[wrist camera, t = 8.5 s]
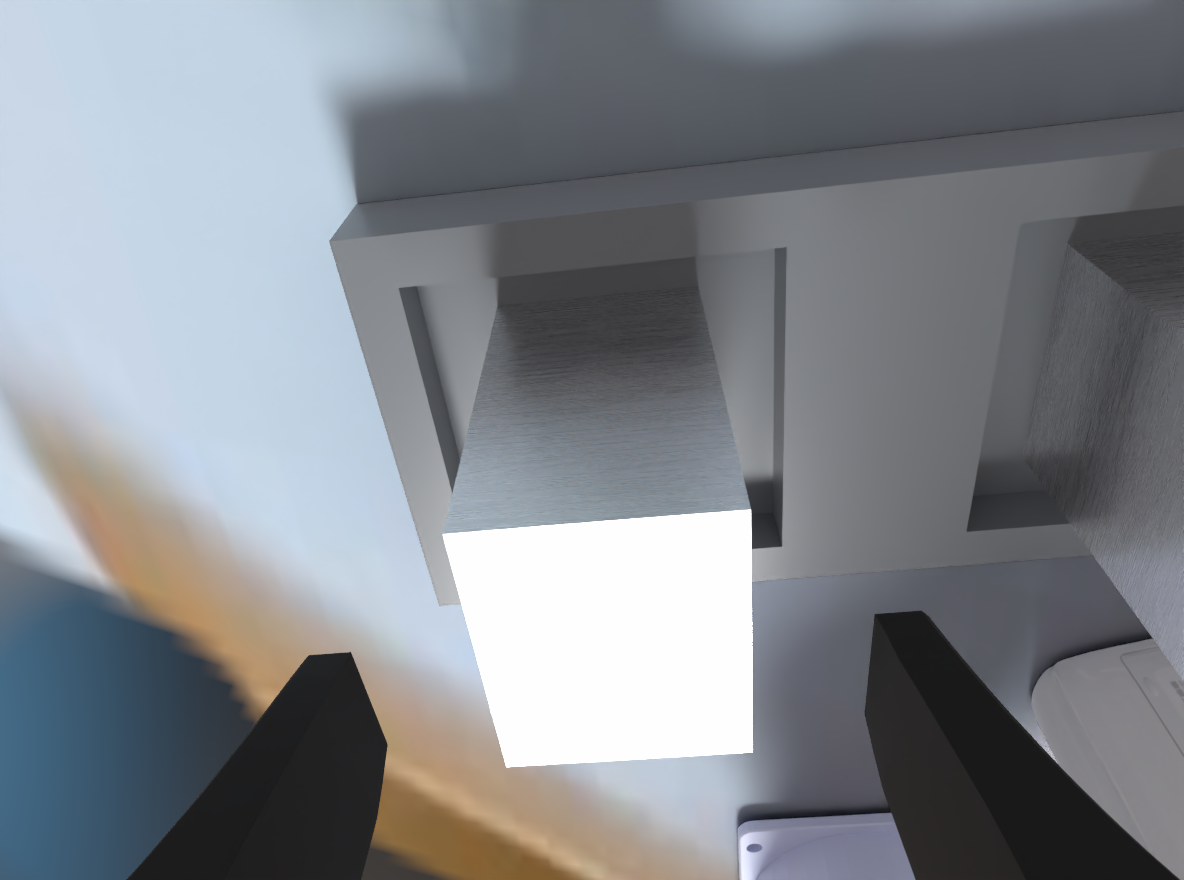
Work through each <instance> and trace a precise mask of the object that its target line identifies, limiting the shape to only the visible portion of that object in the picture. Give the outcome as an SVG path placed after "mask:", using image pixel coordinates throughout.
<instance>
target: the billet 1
mask: <svg viewBox="0 0 1184 880" xmlns="http://www.w3.org/2000/svg"><path fill="white" fill-rule="evenodd" d="M443 538H444V541H445V545H446V549H447V552H448V556H449V560H450V563H451V567H452V571H453V574H454V578H455V581H456V585H457V589H458V592H459V596H460V600H461V603H462V607H463V611H464V614H465V618H466V621H467V625H468V629H469V632H470V636H471V640H472V643H473V647H474V650H475V654H476V658H477V661H478V665H479V669H480V672H481V676H482V680H483V683H484V687H485V690H486V694H487V698H488V701H489V705H490V709H491V712H492V716H493V720H494V723H495V727H496V730H497V734H498V738H499V741H500V745H501V749H502V752H503V756H504V760H505V763H506V767H515V766H532V765H548V764H565V763H582V762H598V761H615V760H631V759H648V758H665V757H681V756H698V755H715V754H731V753H748V752H753V728H752V579H751V507H750V503H749V499H748V495H747V490H746V486H745V482H744V478H743V473H742V469H741V465H740V461H739V456H738V452H737V448H736V444H735V439H734V435H733V431H732V427H731V422H730V418H729V414H728V410H727V405H726V401H725V397H724V393H723V389H722V384H721V380H720V376H719V372H718V367H717V363H716V359H715V355H714V350H713V346H712V342H711V338H710V333H709V329H708V325H707V321H706V316H705V312H704V308H703V304H702V299H701V295H700V291H699V287H698V286H691V287H681V288H671V289H661V290H651V291H641V292H630V293H620V294H610V295H600V296H590V297H580V298H570V299H560V300H550V301H540V302H530V303H519V304H509V305H499V306H497V310H496V314H495V318H494V323H493V327H492V331H491V335H490V339H489V343H488V348H487V352H486V356H485V360H484V364H483V368H482V372H481V377H480V381H479V385H478V389H477V393H476V397H475V402H474V406H473V410H472V414H471V418H470V422H469V426H468V431H467V435H466V439H465V443H464V447H463V451H462V456H461V460H460V464H459V468H458V472H457V476H456V480H455V485H454V489H453V493H452V497H451V501H450V505H449V510H448V514H447V518H446V522H445V526H444V530H443Z"/></svg>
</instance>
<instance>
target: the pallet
mask: <svg viewBox="0 0 1184 880" xmlns="http://www.w3.org/2000/svg"><path fill="white" fill-rule="evenodd" d="M1181 231H1184V111H1180V112H1171V113H1162V114H1153V115H1144V116H1136V117H1127V118H1118V119H1109V120H1100V121H1091V122H1082V123H1074V124H1065V125H1056V126H1047V127H1038V128H1029V129H1020V130H1011V131H1003V132H994V133H985V134H976V135H967V136H958V137H949V138H941V139H932V140H923V141H914V142H905V143H896V144H887V145H878V146H870V147H861V148H852V149H843V150H834V151H825V152H816V153H808V154H799V155H790V156H781V157H772V158H763V159H754V160H745V161H737V162H728V163H719V164H710V165H701V166H692V167H683V168H675V169H666V170H657V171H648V172H639V173H630V174H621V175H612V176H604V177H595V178H586V179H577V180H568V181H559V182H550V183H542V184H533V185H524V186H515V187H506V188H497V189H488V190H479V191H471V192H462V193H453V194H444V195H435V196H426V197H417V198H409V199H400V200H391V201H382V202H373V203H364V204H357V205H356V206H355V207H354V209H353V210H352V211H351V213H350V214H349V215H348V217H347V218H346V219H345V221H344V222H343V223H342V225H341V226H340V228H339V229H338V230H337V232H336V233H335V234H334V236H333V237H332V238H331V240H330V241H329V242H330V246H331V249H332V252H333V256H334V259H335V262H336V265H337V269H338V272H339V275H340V279H341V282H342V285H343V289H344V292H345V295H346V299H347V302H348V305H349V309H350V312H351V315H352V318H353V322H354V325H355V328H356V332H357V335H358V338H359V342H360V345H361V348H362V352H363V355H364V358H365V362H366V365H367V368H368V372H369V375H370V378H371V381H372V385H373V388H374V391H375V395H376V398H377V401H378V405H379V408H380V411H381V415H382V418H383V421H384V425H385V428H386V431H387V434H388V438H389V441H390V444H391V448H392V451H393V454H394V458H395V461H396V464H397V468H398V471H399V474H400V478H401V481H402V484H403V487H404V491H405V494H406V497H407V501H408V504H409V507H410V511H411V514H412V517H413V521H414V524H415V527H416V531H417V534H418V537H419V540H420V544H421V547H422V550H423V554H424V557H425V560H426V564H427V567H428V570H429V574H430V577H431V580H432V584H433V587H434V590H435V594H436V597H437V600H438V603H439V606H444V605H457V604H462V603H461V600H460V596H459V592H458V589H457V585H456V581H455V578H454V574H453V571H452V567H451V563H450V560H449V556H448V552H447V549H446V545H445V541H444V538H443V530H444V526H445V522H446V518H447V514H448V510H449V505H450V501H451V497H452V493H453V489H454V485H455V480H456V476H457V472H458V468H459V464H460V460H461V456H462V451H463V447H464V443H465V439H466V435H467V431H468V426H469V422H470V418H471V414H472V410H473V406H474V402H475V397H476V393H477V389H478V385H479V381H480V377H481V372H482V368H483V364H484V360H485V356H486V352H487V348H488V343H489V339H490V335H491V331H492V327H493V323H494V318H495V314H496V310H497V306H499V305H509V304H519V303H530V302H540V301H550V300H560V299H570V298H580V297H590V296H600V295H610V294H620V293H630V292H641V291H651V290H661V289H671V288H681V287H691V286H698V287H699V291H700V295H701V299H702V304H703V308H704V312H705V316H706V321H707V325H708V329H709V333H710V338H711V342H712V346H713V350H714V355H715V359H716V363H717V367H718V372H719V376H720V380H721V384H722V389H723V393H724V397H725V401H726V405H727V410H728V414H729V418H730V422H731V427H732V431H733V435H734V439H735V444H736V448H737V452H738V456H739V461H740V465H741V469H742V473H743V478H744V482H745V486H746V490H747V495H748V499H749V503H750V507H751V579H752V582H756V581H769V580H782V579H795V578H808V577H821V576H834V575H847V574H860V573H873V572H886V571H899V570H912V569H925V568H938V567H951V566H964V565H977V564H990V563H1003V562H1016V561H1029V560H1042V559H1055V558H1068V557H1081V556H1093V555H1092V554H1091V552H1090V551H1089V549H1088V548H1087V547H1086V545H1085V544H1084V542H1083V541H1082V540H1081V538H1080V537H1079V536H1078V534H1077V533H1076V531H1075V530H1074V529H1073V527H1072V526H1071V524H1070V523H1069V522H1068V520H1067V519H1066V518H1065V516H1064V515H1063V513H1062V512H1061V511H1060V509H1059V508H1058V506H1057V505H1056V504H1055V502H1054V501H1053V500H1052V498H1051V497H1050V495H1049V494H1048V493H1047V491H1046V490H1045V488H1044V487H1043V486H1042V484H1041V483H1040V481H1039V480H1038V479H1037V477H1036V476H1035V475H1034V473H1033V472H1032V470H1031V469H1030V468H1029V466H1028V465H1027V463H1026V462H1025V461H1024V459H1023V458H1022V455H1023V450H1024V445H1025V441H1026V436H1027V431H1028V426H1029V421H1030V417H1031V412H1032V407H1033V402H1034V398H1035V393H1036V388H1037V383H1038V379H1039V374H1040V369H1041V364H1042V359H1043V355H1044V350H1045V345H1046V340H1047V336H1048V331H1049V326H1050V321H1051V317H1052V312H1053V307H1054V302H1055V298H1056V293H1057V288H1058V283H1059V278H1060V274H1061V269H1062V264H1063V259H1064V255H1065V250H1066V245H1067V243H1074V242H1084V241H1094V240H1104V239H1113V238H1123V237H1133V236H1142V235H1152V234H1162V233H1172V232H1181Z"/></svg>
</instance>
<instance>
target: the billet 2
mask: <svg viewBox="0 0 1184 880" xmlns="http://www.w3.org/2000/svg"><path fill="white" fill-rule="evenodd" d="M1022 458H1023V459H1024V461H1025V462H1026V463H1027V465H1028V466H1029V468H1030V469H1031V470H1032V472H1033V473H1034V475H1035V476H1036V477H1037V479H1038V480H1039V481H1040V483H1041V484H1042V486H1043V487H1044V488H1045V490H1046V491H1047V493H1048V494H1049V495H1050V497H1051V498H1052V500H1053V501H1054V502H1055V504H1056V505H1057V506H1058V508H1059V509H1060V511H1061V512H1062V513H1063V515H1064V516H1065V518H1066V519H1067V520H1068V522H1069V523H1070V524H1071V526H1072V527H1073V529H1074V530H1075V531H1076V533H1077V534H1078V536H1079V537H1080V538H1081V540H1082V541H1083V542H1084V544H1085V545H1086V547H1087V548H1088V549H1089V551H1090V552H1091V554H1092V555H1093V556H1094V558H1095V559H1096V560H1097V562H1098V563H1099V565H1100V566H1101V567H1102V569H1103V570H1104V572H1105V573H1106V574H1107V576H1108V577H1109V578H1110V580H1111V581H1112V583H1113V584H1114V585H1115V587H1116V588H1117V590H1118V591H1119V592H1120V594H1121V595H1122V596H1123V598H1124V599H1125V601H1126V602H1127V603H1128V605H1129V606H1130V608H1131V609H1132V610H1133V612H1134V613H1135V614H1136V616H1137V617H1138V619H1139V620H1140V621H1141V623H1142V624H1143V626H1144V627H1145V628H1146V630H1147V631H1148V632H1149V634H1150V635H1151V637H1152V638H1153V639H1154V641H1155V642H1156V644H1157V645H1158V646H1159V648H1160V649H1161V651H1162V652H1163V653H1164V655H1165V656H1166V657H1167V659H1168V660H1169V662H1170V663H1171V664H1172V666H1173V667H1174V669H1175V670H1176V671H1177V673H1178V674H1179V675H1180V677H1181V678H1182V680H1183V681H1184V231H1181V232H1172V233H1162V234H1152V235H1142V236H1133V237H1123V238H1113V239H1104V240H1094V241H1084V242H1074V243H1067V245H1066V250H1065V255H1064V259H1063V264H1062V269H1061V274H1060V278H1059V283H1058V288H1057V293H1056V298H1055V302H1054V307H1053V312H1052V317H1051V321H1050V326H1049V331H1048V336H1047V340H1046V345H1045V350H1044V355H1043V359H1042V364H1041V369H1040V374H1039V379H1038V383H1037V388H1036V393H1035V398H1034V402H1033V407H1032V412H1031V417H1030V421H1029V426H1028V431H1027V436H1026V441H1025V445H1024V450H1023V455H1022Z"/></svg>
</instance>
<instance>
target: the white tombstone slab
mask: <svg viewBox="0 0 1184 880" xmlns="http://www.w3.org/2000/svg"><path fill="white" fill-rule="evenodd" d="M1031 703H1032V711H1033V713H1034V716H1035V718H1036V720H1037V722H1038V724H1039V726H1040V728H1041V730H1042V732H1043V734H1044V736H1045V738H1046V740H1047V742H1048V744H1049V747H1050V749H1051V751H1052V753H1053V755H1054V757H1055V759H1056V761H1057V763H1058V765H1059V766H1060V767H1061V768H1062V769H1063V770H1064V771H1065V772H1066V773H1067V774H1068V775H1069V776H1070V777H1071V778H1072V779H1073V780H1074V781H1075V782H1076V783H1077V784H1078V785H1079V786H1080V787H1081V788H1082V789H1083V790H1084V791H1085V792H1086V793H1087V794H1088V795H1089V796H1090V797H1091V798H1092V799H1093V800H1094V801H1095V802H1096V803H1097V804H1098V805H1099V806H1100V807H1101V808H1102V809H1103V810H1104V811H1105V812H1106V813H1107V814H1108V815H1109V816H1111V817H1112V818H1113V819H1114V820H1115V821H1116V822H1117V823H1118V824H1119V825H1120V826H1121V827H1122V828H1123V829H1124V830H1125V831H1126V832H1128V833H1129V834H1130V835H1131V836H1132V837H1133V838H1134V839H1135V840H1136V841H1137V842H1138V843H1139V844H1141V845H1142V846H1143V847H1144V848H1145V849H1146V850H1147V851H1148V852H1149V853H1150V854H1151V855H1153V856H1154V857H1155V858H1156V859H1157V860H1158V861H1159V862H1161V863H1162V864H1163V865H1164V866H1165V867H1166V868H1167V869H1169V870H1170V871H1171V872H1172V873H1173V874H1174V875H1175V876H1177V877H1178V878H1179V879H1180V880H1184V681H1183V680H1182V678H1181V677H1180V675H1179V674H1178V673H1177V671H1176V670H1175V669H1174V667H1173V666H1172V664H1171V663H1170V662H1169V660H1168V659H1167V657H1166V656H1165V655H1164V653H1163V652H1162V651H1161V649H1160V648H1159V646H1158V645H1157V644H1156V642H1155V641H1154V639H1148V640H1143V641H1138V642H1134V643H1129V644H1124V645H1119V646H1114V647H1110V648H1105V649H1100V650H1096V651H1092V652H1088V653H1084V654H1081V655H1077V656H1074V657H1071V658H1067V659H1064V660H1062V661H1059V662H1057V663H1056V664H1055V665H1054V666H1053V667H1050V668H1048V669H1047V670H1046V671H1044V673H1043V674H1042V675H1041V677H1040V678H1039V679H1038V681H1037V683H1036V685H1035V688H1034V690H1033V694H1032V700H1031Z"/></svg>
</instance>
